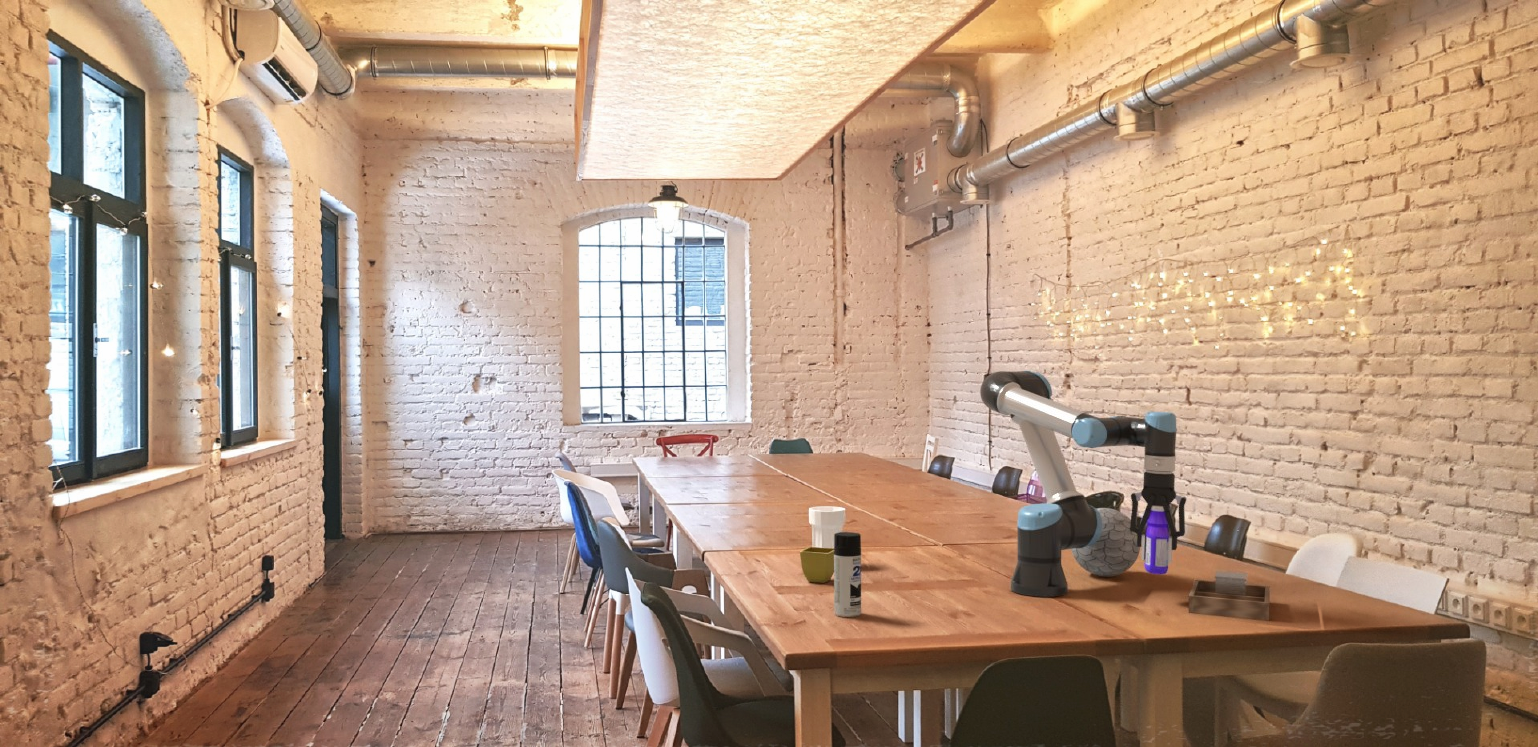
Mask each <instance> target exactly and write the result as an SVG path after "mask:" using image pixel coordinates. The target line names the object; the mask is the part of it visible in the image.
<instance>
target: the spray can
mask: <svg viewBox="0 0 1538 747" xmlns="http://www.w3.org/2000/svg"><path fill="white" fill-rule="evenodd" d="M861 536H862V535H861V534H860V533H859V532H850V531H842V532H839V533H836V534H834V573H833V590H834V591H833V594H834V595H833V598H834V600H833V602H834V603H833V604H834V605H833V607H834V608H833V612H834V615H835V616H836V617H837V616H838V617H841V618H856V617H859V616H861V614H862V544H861V543H862V541H861V540H862V539H861Z"/></svg>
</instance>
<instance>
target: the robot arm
mask: <svg viewBox="0 0 1538 747" xmlns="http://www.w3.org/2000/svg"><path fill="white" fill-rule="evenodd" d="M979 395H980V398H981V400H982V403H983V404H984V406H985V407H987V409H989V410H991V411H994V412H996V413H999V414H1001V415H1004V416H1009V417H1010V418H1011V422H1012V423H1014V424H1017V425H1019V428H1020V430H1021V433H1022V436H1023V439H1024V441H1025V444H1026V447H1027V450H1028V453H1029V454H1030V457H1031V458H1030V459H1031V461H1032V463H1033V466H1034V468H1035V471H1036V474H1037V477H1038V480H1039V482H1040V485H1041V488H1042V490H1043V493H1044V496H1045V499H1046V503H1045V502H1042V503H1032V504H1029V505H1025V506H1022V507H1021V508H1020V509H1019V511H1018V513H1017V515H1018V516H1017V521H1016V522H1017V523H1016V526H1017V562H1016V566H1015V568H1014V571H1013V574H1012V577H1011V580H1010V591H1011V592H1013V593H1016V594H1021V595H1023V596H1031V597H1041V598H1043V597H1044V598H1045V597H1060V596H1065V595H1067V594H1068V593H1069V589H1068V587H1069V585H1068V581H1067V578H1066V575H1065V572H1064V569H1063V564H1062V551H1066V550H1071V549H1075V548H1084V547H1087V546H1090V545H1093V544H1094V543H1095V542H1096V541H1097V540H1098V539H1099V537H1100V534H1101V532H1102V528H1103V522H1102V517H1101V515H1100V513H1099V511H1098V510H1097V508H1096V507H1094V506H1093V505H1092V504H1088V502H1087V499H1086V497H1085V495H1084V494H1083V493H1081V492H1079V491H1077V489H1076V486H1075V484H1074V480H1073V478H1072V475H1071V472H1070V470H1069V467H1068V465H1067V463H1066V459H1065V457H1064V455H1063V453H1062V450H1061V447H1060V444H1059V442H1058V440H1057V439H1058V438H1057V436H1056V433H1058V434H1061V435H1064V436H1066V437H1067V438H1068V437H1069V438H1070V439H1073V441H1074V442H1075V443H1076V445H1078V446H1079V447H1082V448H1089V449H1095V448H1105V447H1122V446H1130V447H1131V446H1132V447H1140V448H1144V457H1143V458H1144V459H1143V469H1144V470H1145V471H1144V473H1143V488H1142V489H1141V491H1140V492H1133V493H1131V494H1130V499H1131V503H1132V504H1131V505H1132V506H1131V514H1130V516H1131V518H1130V520H1131V524H1130V530H1131V531H1132V532H1135V533H1136V534H1137V546H1138V547H1140V561H1144V562H1145V545H1146V533H1144V530H1145V528H1146V526H1147V523H1146V521H1147V519H1148V517H1149V514H1150V510H1151V507H1152V505H1153V506H1163V508H1164V511H1165V514H1166V518H1167V521H1168V529H1169V532H1170V534H1171V535H1169V544H1168V564H1172V562H1173V551H1176V550H1177V548H1178V538H1179V537H1184V536H1185V535H1186V520H1185V514H1186V513H1185V505H1186V502H1187V497H1186V496H1181V495H1178V494H1177V493H1176V491H1175V480H1176V478H1175V476H1176V475H1175V473H1173V472H1175V470H1176V444H1177V432H1178V428H1177V416H1176V415H1175V413H1173V412H1169V411H1167V412H1166V411H1147V412H1146V413H1145V418H1142V417H1131V416H1125V415H1112V416H1110V417H1098V416H1095V415H1092V414H1090V413H1087V412H1084V411H1081V410H1079V409H1076V408H1073V407H1070V406H1068V405H1065V404H1063V403H1060V402H1057V401H1054V400H1053V399H1052V396H1053V389H1052V386H1051V383H1050V382H1049V379H1047V377H1045V375H1043V374H1041V373H1039V372H1038V371H1037V372H1035V371H1031V370H1021V371H1016V370H1015V371H1006V370H1005V371H1003V370H1002V371H1001V370H999V371H996V372H992V373H990V374H989V375H988V376H986V378H985V379H984V380H983V381H982V383H981V386H980V394H979ZM1055 432H1056V433H1055ZM1141 498H1143V500H1144V501H1145V503H1146V507H1145V508H1144V509H1145V510H1144V512H1143V515H1142V517H1141V521H1140V523H1139V526H1138V527H1137V522H1138V521H1137V520H1138V512H1139V511H1138V510H1139V502H1140V500H1141ZM1174 500H1176V504H1177V505H1178V529H1179V530H1178V531H1177V527H1176V523H1175V521H1174V520H1175V519H1174V517H1173V514H1172V510H1171V506H1170V505H1171V504H1172V502H1173V501H1174Z"/></svg>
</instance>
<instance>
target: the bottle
mask: <svg viewBox="0 0 1538 747" xmlns="http://www.w3.org/2000/svg"><path fill="white" fill-rule="evenodd" d="M1145 528H1146V529H1145V534H1146V545H1145V560H1144V563H1143V565H1144V570H1145V571H1146V572H1147V573H1149V574H1153V575H1165V574H1167V573H1168V570H1169V563H1168V544H1169V537H1170V528H1169V525H1168V521H1167V518H1166V514H1165V511H1164V508H1163V506H1153V505H1152V507H1151V510H1150V514H1149V517H1148V519H1147V521H1146V527H1145Z"/></svg>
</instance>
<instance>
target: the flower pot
mask: <svg viewBox="0 0 1538 747" xmlns="http://www.w3.org/2000/svg"><path fill="white" fill-rule="evenodd" d="M799 556H800V565H801V569H802V570H801V571H802V573H803V575H804V577H805V578H806V580H807V581H808V583H809V582H810V583H822V584H824V583H827V582H829V581H830V580H831V578H832V577H833V576H834V548H821V547H813V546H808V547H807V548H806V547H805V548H804V549H802V550H800V551H799Z"/></svg>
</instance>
